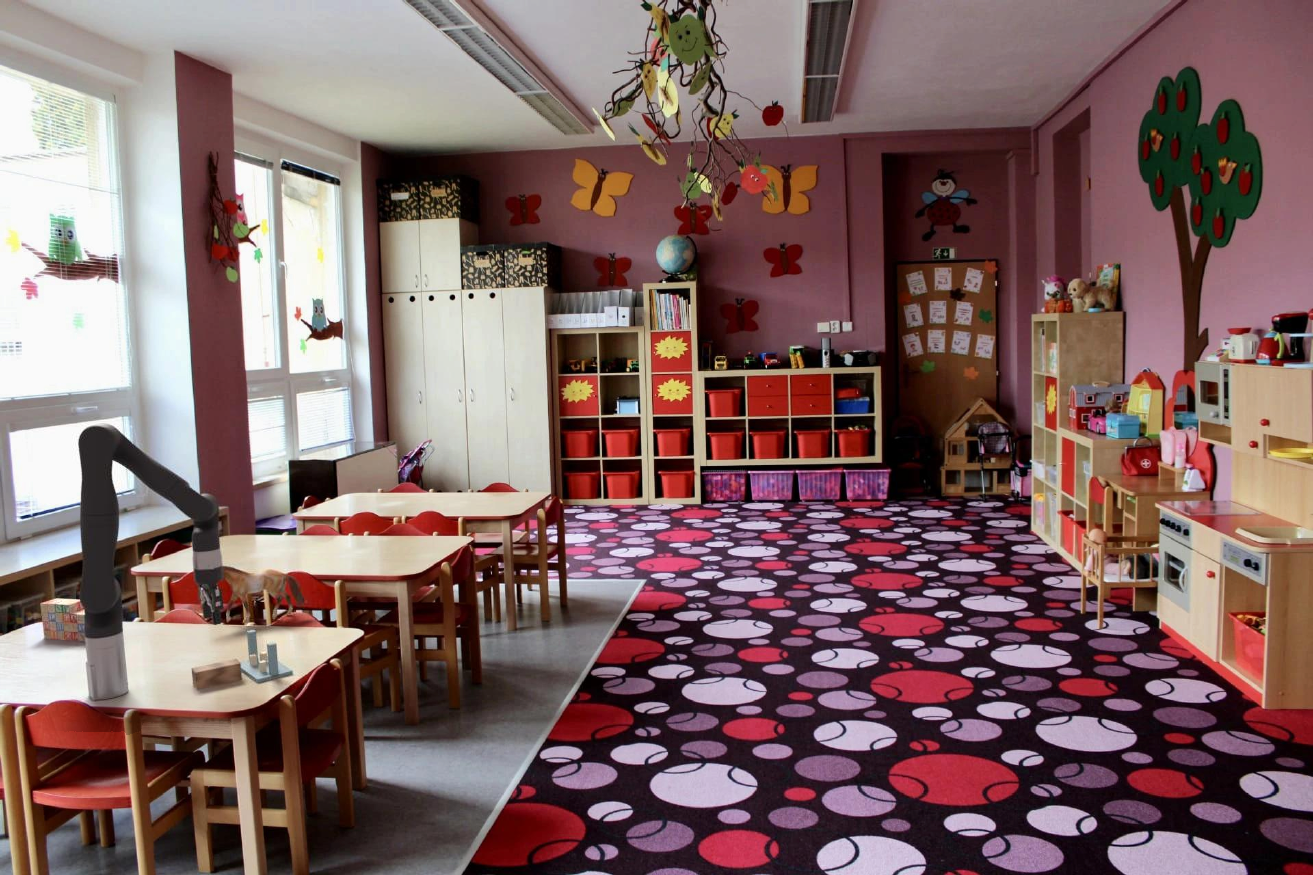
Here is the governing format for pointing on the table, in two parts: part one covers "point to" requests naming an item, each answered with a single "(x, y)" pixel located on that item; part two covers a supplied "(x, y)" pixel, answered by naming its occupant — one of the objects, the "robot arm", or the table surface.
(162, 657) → the table surface
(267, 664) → the peg stand
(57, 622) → the stack of blocks
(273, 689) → the table surface
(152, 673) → the table surface
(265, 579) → the horse figurine
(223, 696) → the table surface
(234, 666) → the brown wooden block
